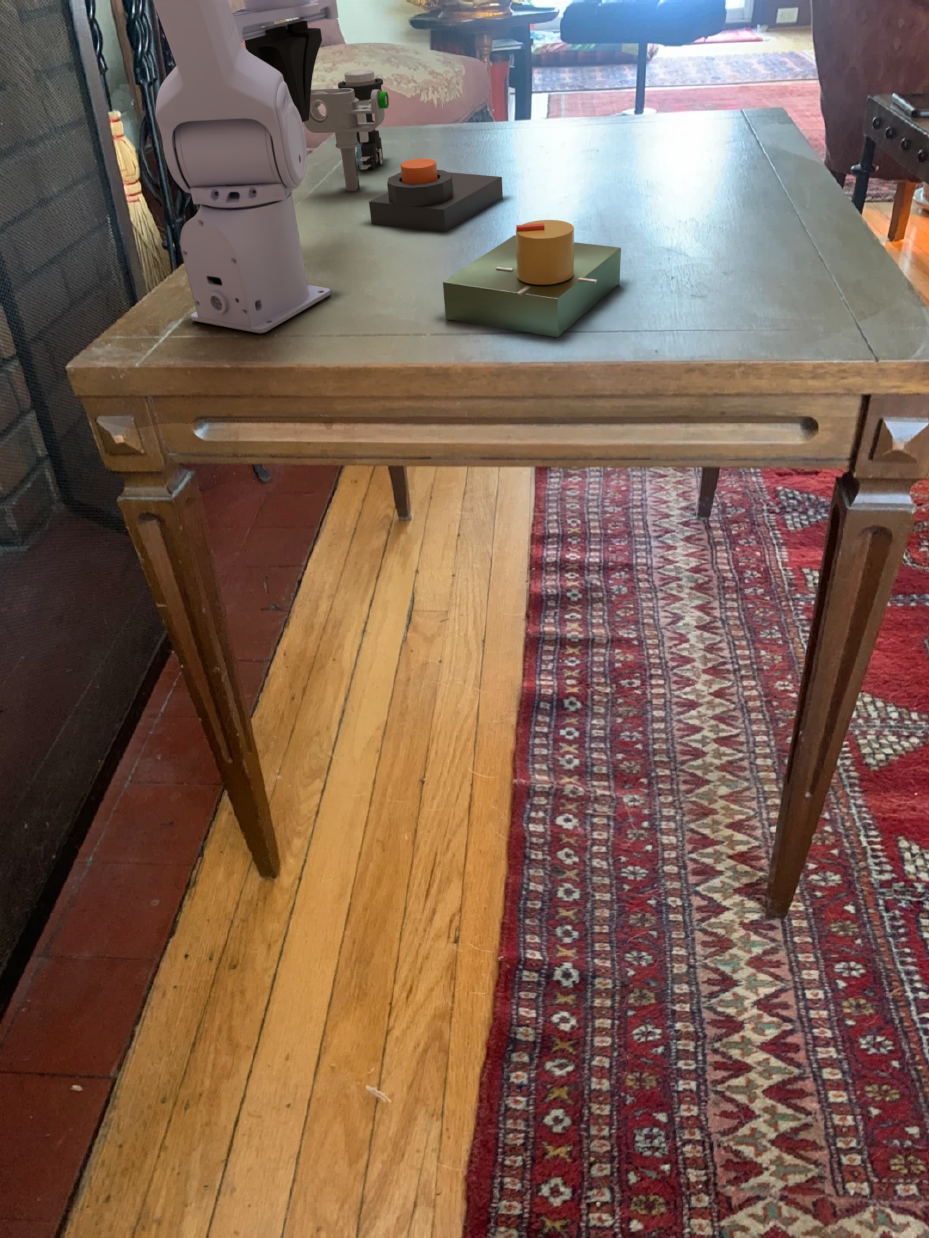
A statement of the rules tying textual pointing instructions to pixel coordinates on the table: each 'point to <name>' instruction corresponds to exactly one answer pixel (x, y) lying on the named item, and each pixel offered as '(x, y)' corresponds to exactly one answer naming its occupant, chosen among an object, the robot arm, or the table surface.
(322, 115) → the mechanical component
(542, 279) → the dial knob
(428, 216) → the box
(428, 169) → the button
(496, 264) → the block
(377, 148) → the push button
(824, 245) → the table surface
